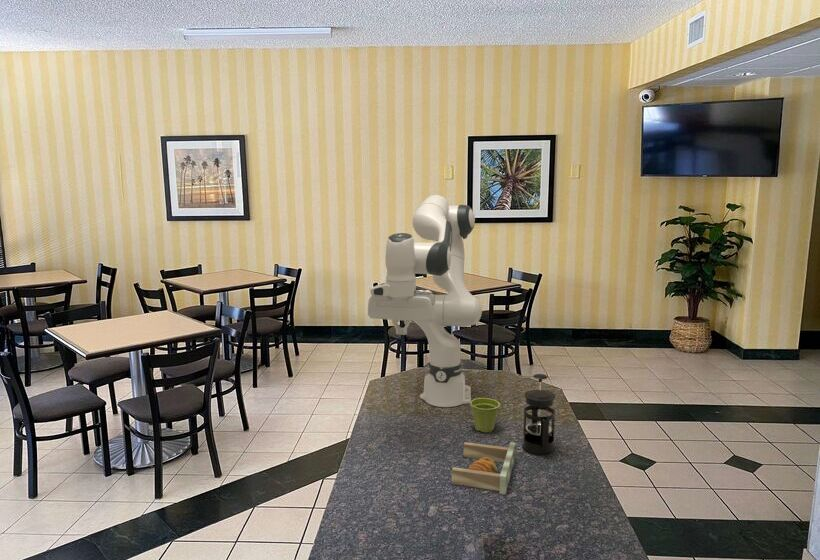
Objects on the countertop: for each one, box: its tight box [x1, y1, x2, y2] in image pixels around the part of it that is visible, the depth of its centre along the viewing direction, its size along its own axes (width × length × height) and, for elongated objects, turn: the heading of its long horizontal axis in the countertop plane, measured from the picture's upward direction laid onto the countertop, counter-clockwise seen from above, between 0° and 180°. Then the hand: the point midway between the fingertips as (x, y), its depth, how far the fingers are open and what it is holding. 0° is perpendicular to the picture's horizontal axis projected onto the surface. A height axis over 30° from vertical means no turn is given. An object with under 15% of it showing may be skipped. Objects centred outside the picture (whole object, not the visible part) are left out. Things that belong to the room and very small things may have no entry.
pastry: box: [467, 457, 498, 473], centre depth 163 cm, size 9×7×4 cm
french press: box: [522, 373, 556, 457], centre depth 175 cm, size 12×9×23 cm
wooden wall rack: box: [451, 441, 516, 495], centre depth 164 cm, size 20×14×5 cm
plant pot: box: [469, 397, 501, 433], centre depth 191 cm, size 9×9×9 cm
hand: (401, 334), depth 178 cm, fingers closed
